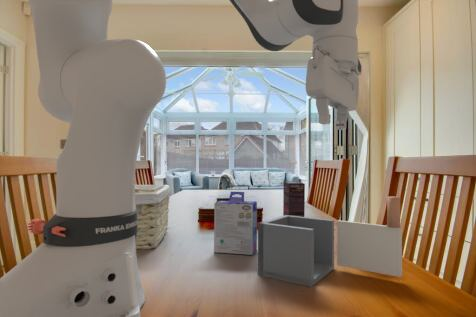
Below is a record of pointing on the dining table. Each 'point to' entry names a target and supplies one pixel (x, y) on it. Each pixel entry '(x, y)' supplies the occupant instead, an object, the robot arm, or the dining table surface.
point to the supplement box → (294, 199)
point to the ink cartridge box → (235, 225)
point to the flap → (372, 243)
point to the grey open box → (296, 249)
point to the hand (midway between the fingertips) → (333, 126)
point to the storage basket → (151, 214)
